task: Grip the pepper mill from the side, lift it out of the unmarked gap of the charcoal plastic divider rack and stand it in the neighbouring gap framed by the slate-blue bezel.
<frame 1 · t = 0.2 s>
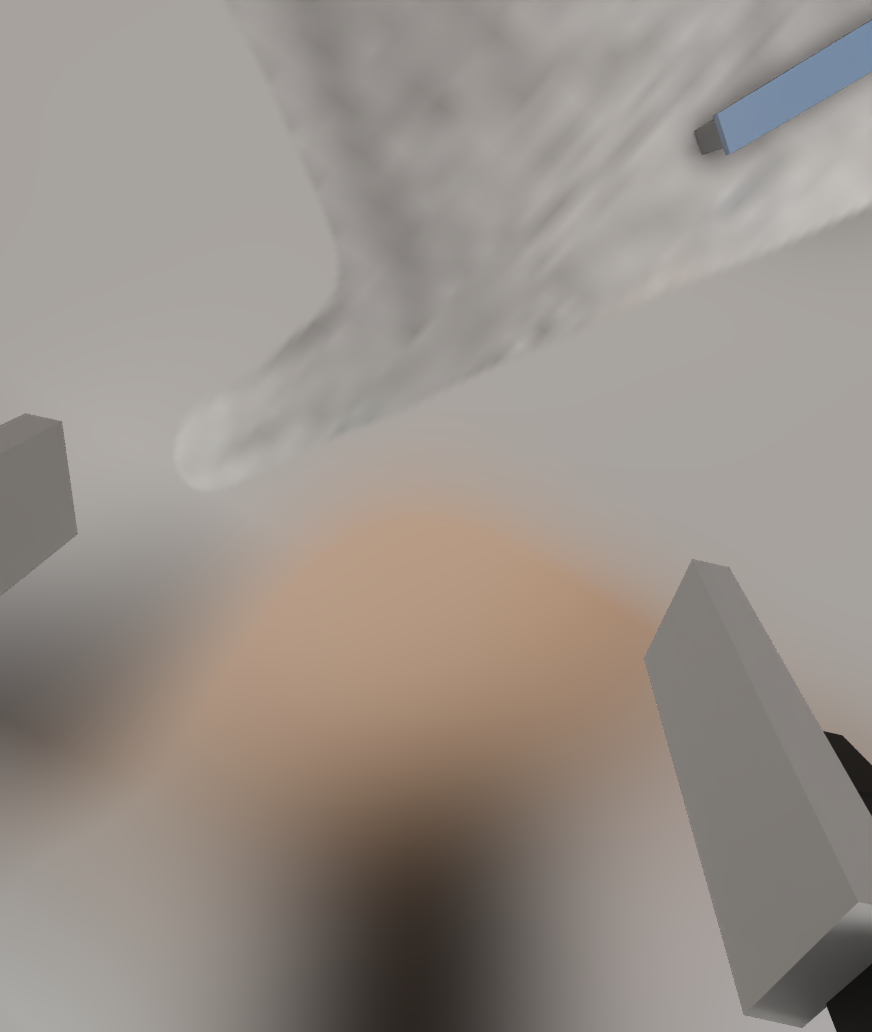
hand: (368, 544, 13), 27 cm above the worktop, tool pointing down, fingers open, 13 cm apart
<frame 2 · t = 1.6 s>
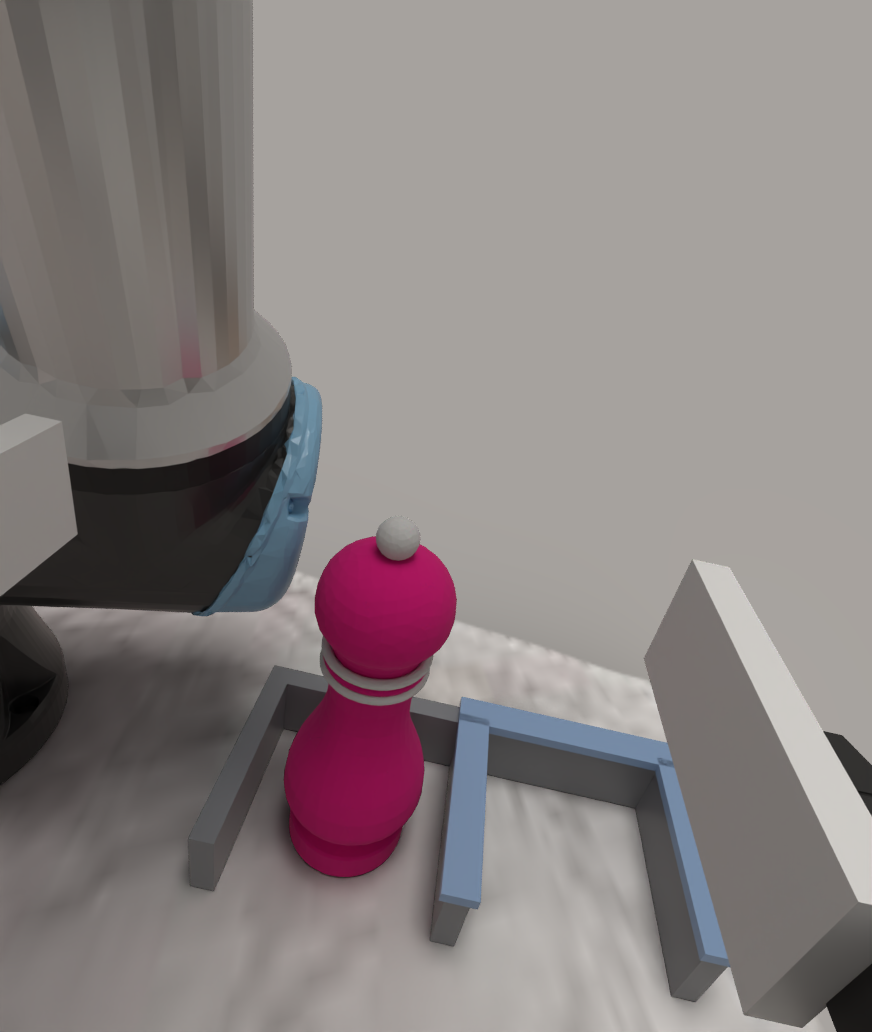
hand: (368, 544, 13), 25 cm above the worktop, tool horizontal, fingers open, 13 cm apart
pepper mill: (345, 823, 33), on the worktop
divider rack: (451, 844, 33), on the worktop
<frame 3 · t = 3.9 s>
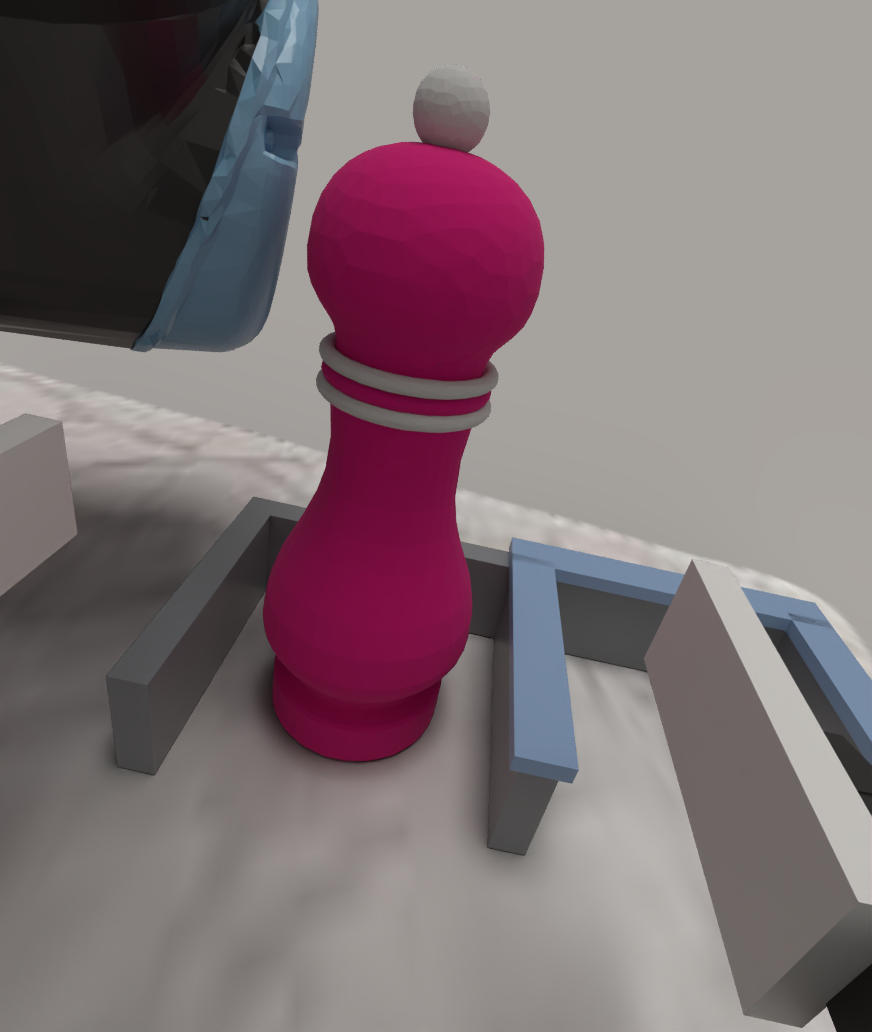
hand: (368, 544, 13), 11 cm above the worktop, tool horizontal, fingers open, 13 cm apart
pepper mill: (354, 697, 23), on the worktop
divider rack: (506, 726, 23), on the worktop
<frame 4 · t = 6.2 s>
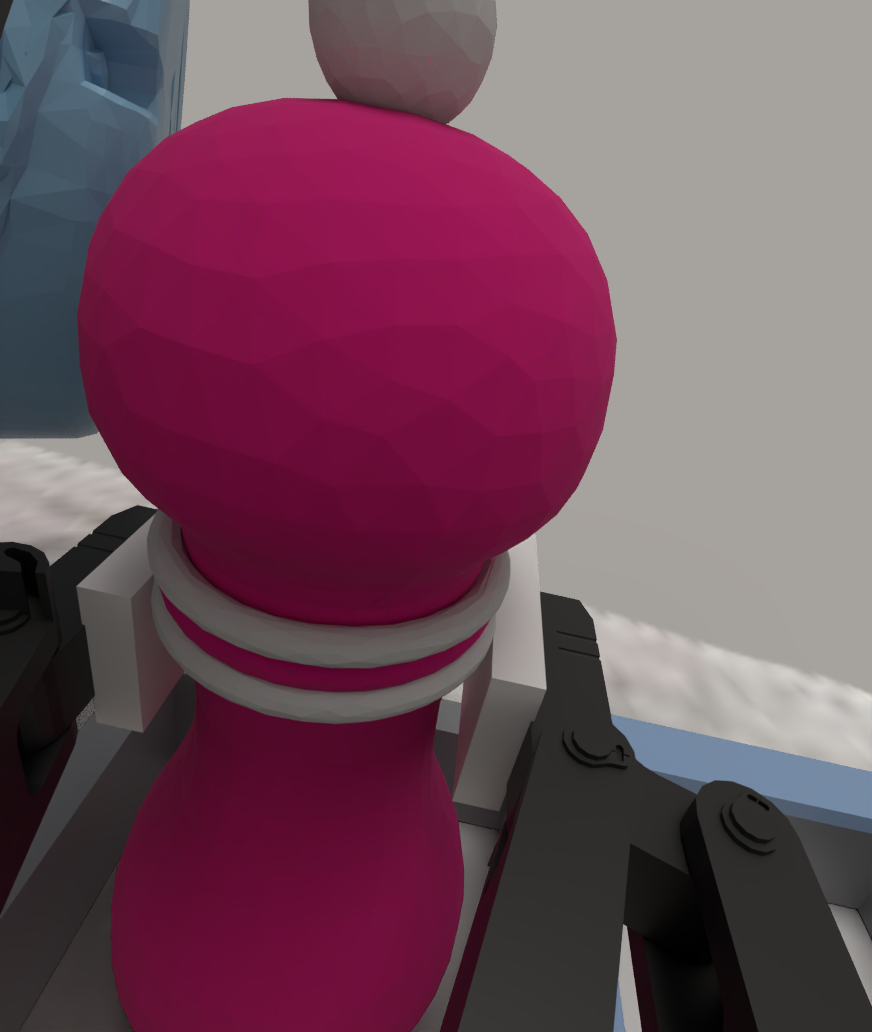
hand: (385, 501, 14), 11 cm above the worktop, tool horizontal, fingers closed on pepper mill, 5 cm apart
pepper mill: (285, 973, 15), on the worktop, touching gripper
divider rack: (518, 1019, 15), on the worktop
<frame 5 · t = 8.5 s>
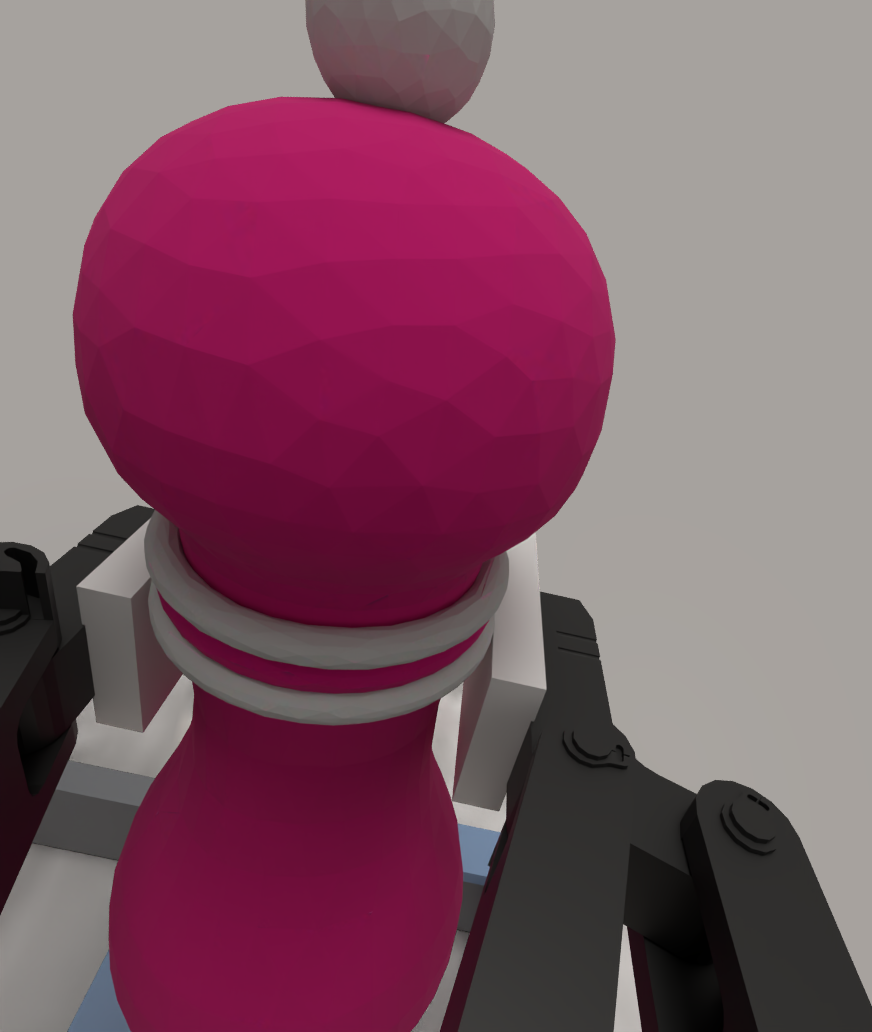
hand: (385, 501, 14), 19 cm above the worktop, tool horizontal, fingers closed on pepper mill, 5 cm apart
pepper mill: (284, 974, 15), point 8 cm above the worktop, touching gripper
divider rack: (142, 1031, 20), on the worktop
when the fingers open (12 cm above the worktop, at t = 10.7 s): pepper mill stays where it is, on the worktop.
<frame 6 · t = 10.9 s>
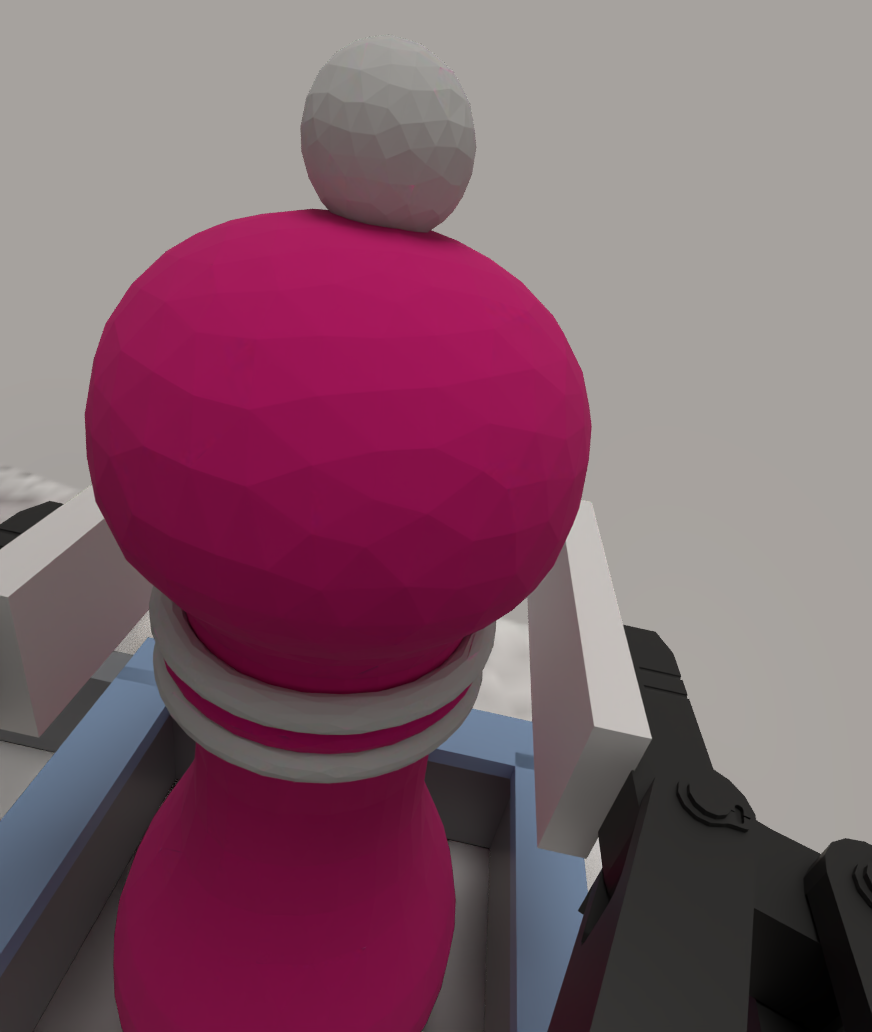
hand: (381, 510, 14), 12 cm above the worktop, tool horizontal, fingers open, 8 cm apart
pepper mill: (283, 995, 16), on the worktop
divider rack: (60, 938, 16), on the worktop
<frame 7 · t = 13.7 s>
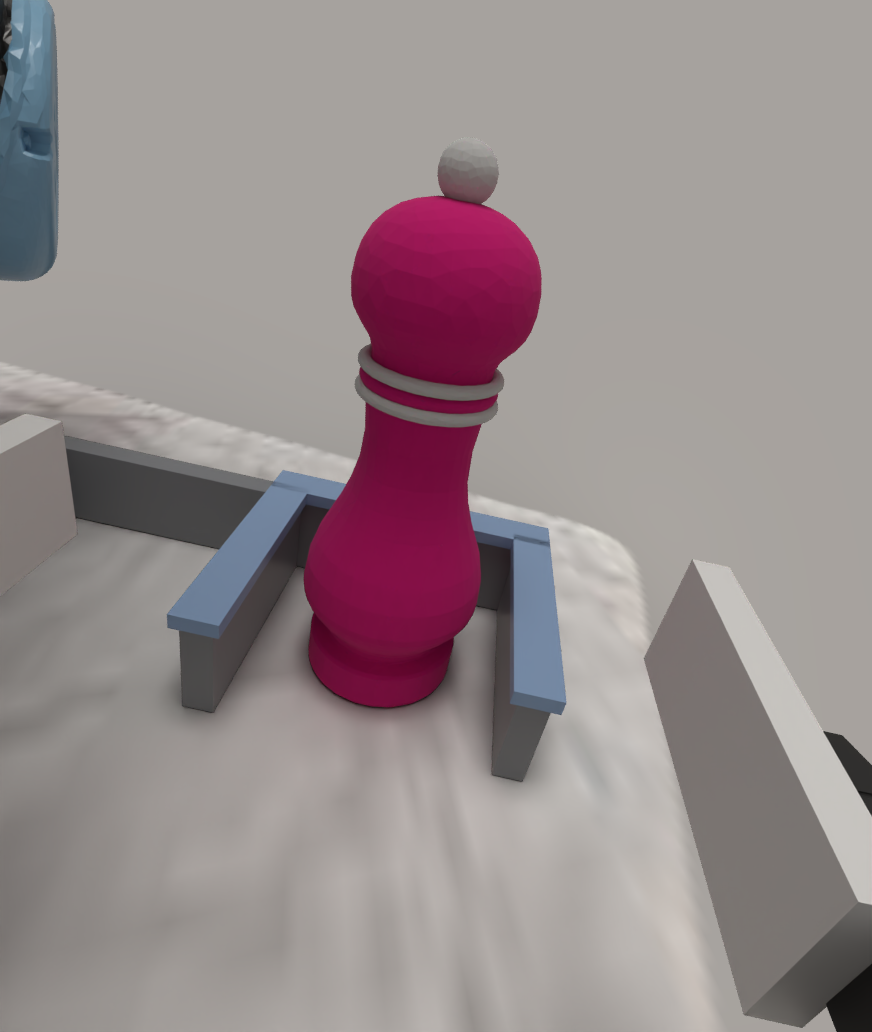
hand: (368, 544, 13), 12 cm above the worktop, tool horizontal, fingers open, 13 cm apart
pepper mill: (378, 657, 27), on the worktop
divider rack: (248, 624, 27), on the worktop
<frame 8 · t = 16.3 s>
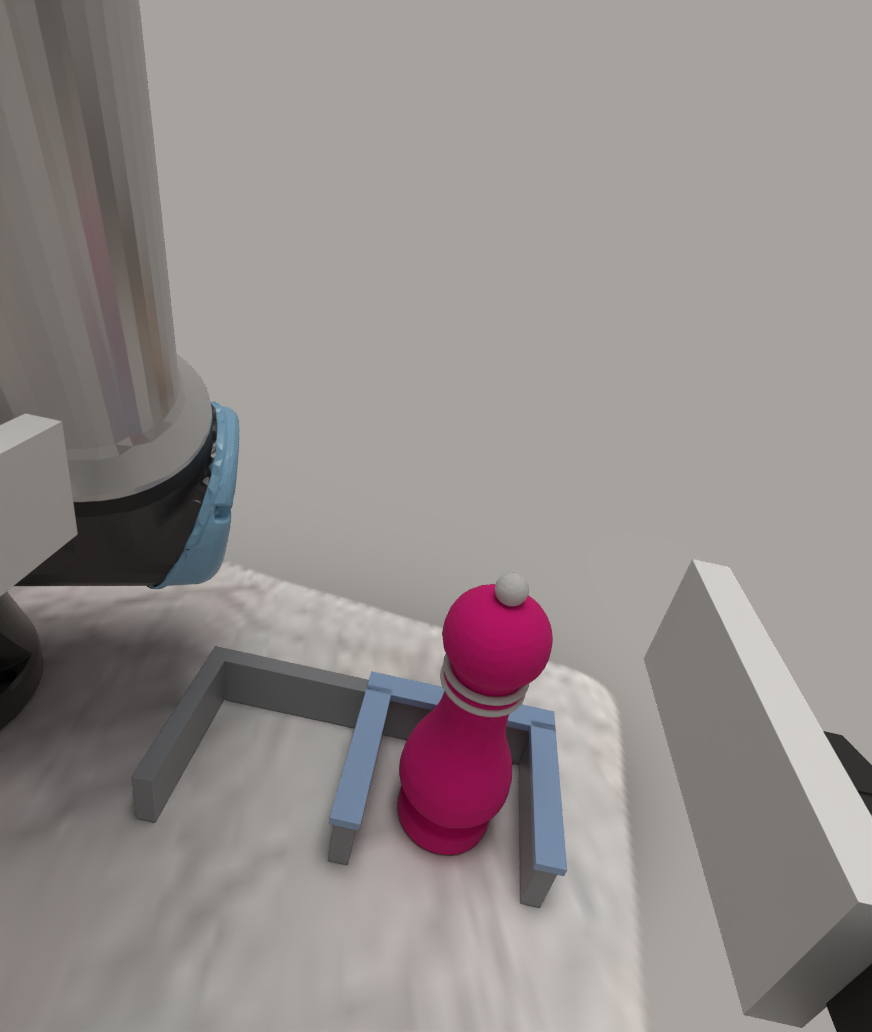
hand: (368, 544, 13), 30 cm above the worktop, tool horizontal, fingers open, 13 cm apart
pepper mill: (442, 812, 41), on the worktop
divider rack: (356, 790, 41), on the worktop
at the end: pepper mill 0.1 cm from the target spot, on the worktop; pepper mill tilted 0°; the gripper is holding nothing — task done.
